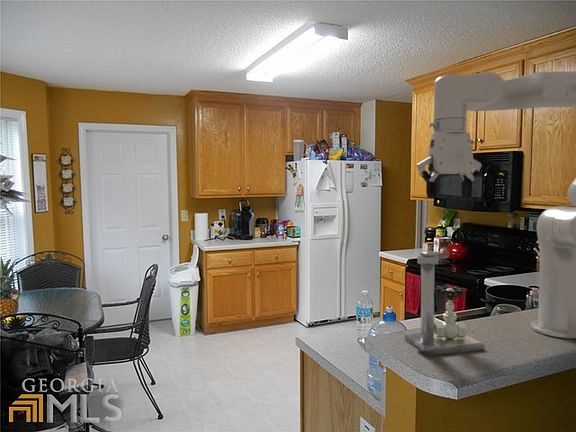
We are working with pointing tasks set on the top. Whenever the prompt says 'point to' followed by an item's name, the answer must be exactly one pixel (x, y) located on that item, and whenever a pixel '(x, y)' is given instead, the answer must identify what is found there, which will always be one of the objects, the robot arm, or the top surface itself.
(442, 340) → the press
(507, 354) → the top surface
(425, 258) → the lever
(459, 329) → the valve
